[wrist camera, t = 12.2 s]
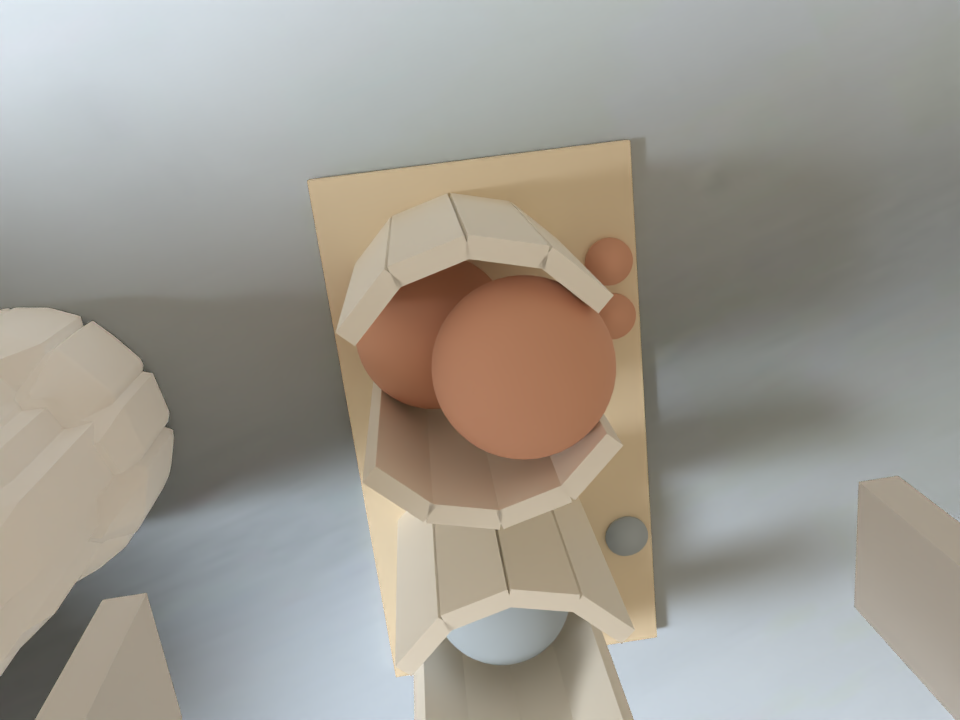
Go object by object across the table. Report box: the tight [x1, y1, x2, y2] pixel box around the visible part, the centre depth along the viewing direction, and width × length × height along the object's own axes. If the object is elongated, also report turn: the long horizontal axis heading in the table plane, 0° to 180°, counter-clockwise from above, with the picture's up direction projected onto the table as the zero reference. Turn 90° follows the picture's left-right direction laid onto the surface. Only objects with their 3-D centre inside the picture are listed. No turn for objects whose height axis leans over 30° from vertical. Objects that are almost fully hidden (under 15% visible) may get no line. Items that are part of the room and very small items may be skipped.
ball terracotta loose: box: [432, 275, 616, 460], centre depth 27 cm, size 6×6×6 cm
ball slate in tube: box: [447, 607, 568, 665], centre depth 36 cm, size 6×6×6 cm
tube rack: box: [307, 140, 657, 720], centre depth 32 cm, size 13×24×11 cm, turn 7°
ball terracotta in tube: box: [356, 261, 492, 409], centre depth 32 cm, size 6×6×6 cm
